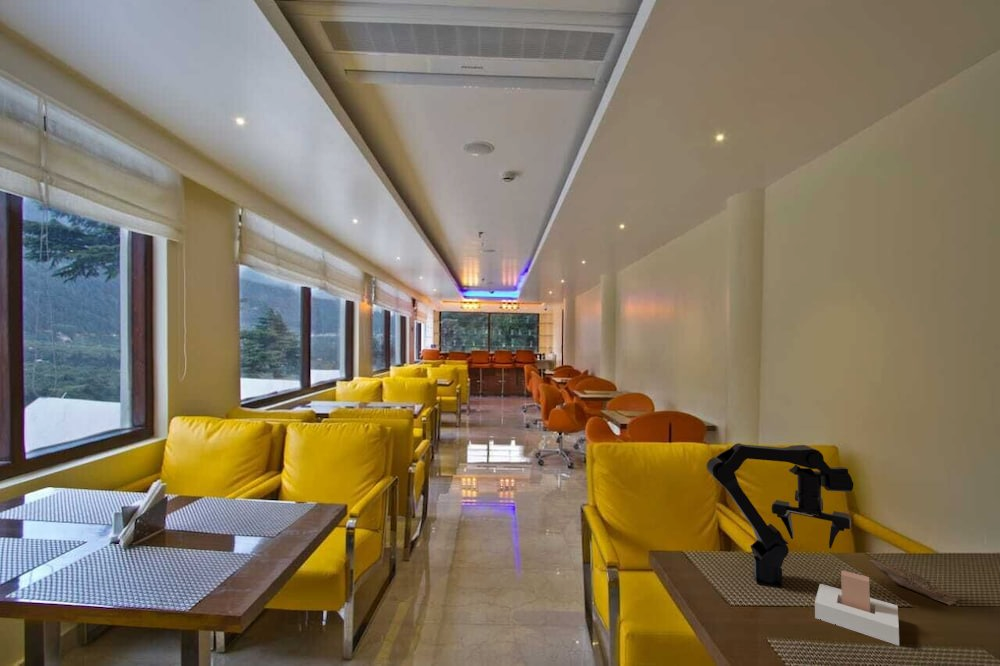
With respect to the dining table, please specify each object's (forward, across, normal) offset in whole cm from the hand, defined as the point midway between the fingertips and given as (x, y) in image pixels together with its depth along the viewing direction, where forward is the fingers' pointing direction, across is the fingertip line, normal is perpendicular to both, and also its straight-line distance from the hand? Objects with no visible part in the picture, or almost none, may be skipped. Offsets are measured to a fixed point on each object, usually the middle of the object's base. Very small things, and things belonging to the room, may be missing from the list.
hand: (810, 543), depth 129 cm
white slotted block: (+12, -11, +13) cm, 21 cm away
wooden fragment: (+13, -21, -22) cm, 33 cm away
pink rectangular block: (+11, -11, +13) cm, 20 cm away
